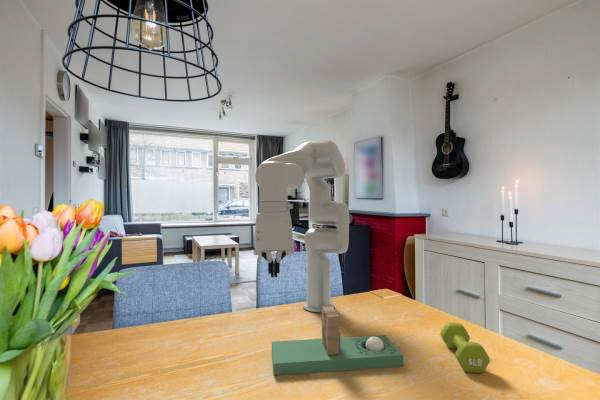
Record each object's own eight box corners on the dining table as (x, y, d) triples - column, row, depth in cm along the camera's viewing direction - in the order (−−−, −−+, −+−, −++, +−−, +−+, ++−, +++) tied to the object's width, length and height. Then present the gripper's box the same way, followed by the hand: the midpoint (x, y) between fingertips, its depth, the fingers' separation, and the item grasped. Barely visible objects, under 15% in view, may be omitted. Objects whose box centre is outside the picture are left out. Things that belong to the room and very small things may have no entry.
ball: (364, 352, 91) (361, 335, 91) (381, 348, 92) (378, 331, 92) (370, 361, 86) (367, 344, 86) (388, 357, 87) (385, 339, 87)
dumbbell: (491, 376, 79) (492, 348, 79) (457, 374, 80) (458, 345, 80) (466, 345, 96) (467, 321, 95) (438, 343, 97) (439, 320, 97)
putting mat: (271, 351, 91) (271, 341, 91) (385, 344, 96) (385, 334, 96) (273, 375, 79) (273, 363, 79) (403, 366, 84) (403, 354, 84)
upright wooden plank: (321, 340, 91) (321, 306, 91) (333, 340, 92) (333, 305, 91) (327, 354, 83) (327, 316, 83) (340, 353, 84) (340, 316, 83)
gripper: (299, 207, 90) (299, 271, 90) (245, 207, 88) (246, 273, 89) (303, 208, 82) (303, 279, 83) (244, 209, 81) (245, 281, 81)
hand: (273, 276), depth 86 cm, fingers closed
